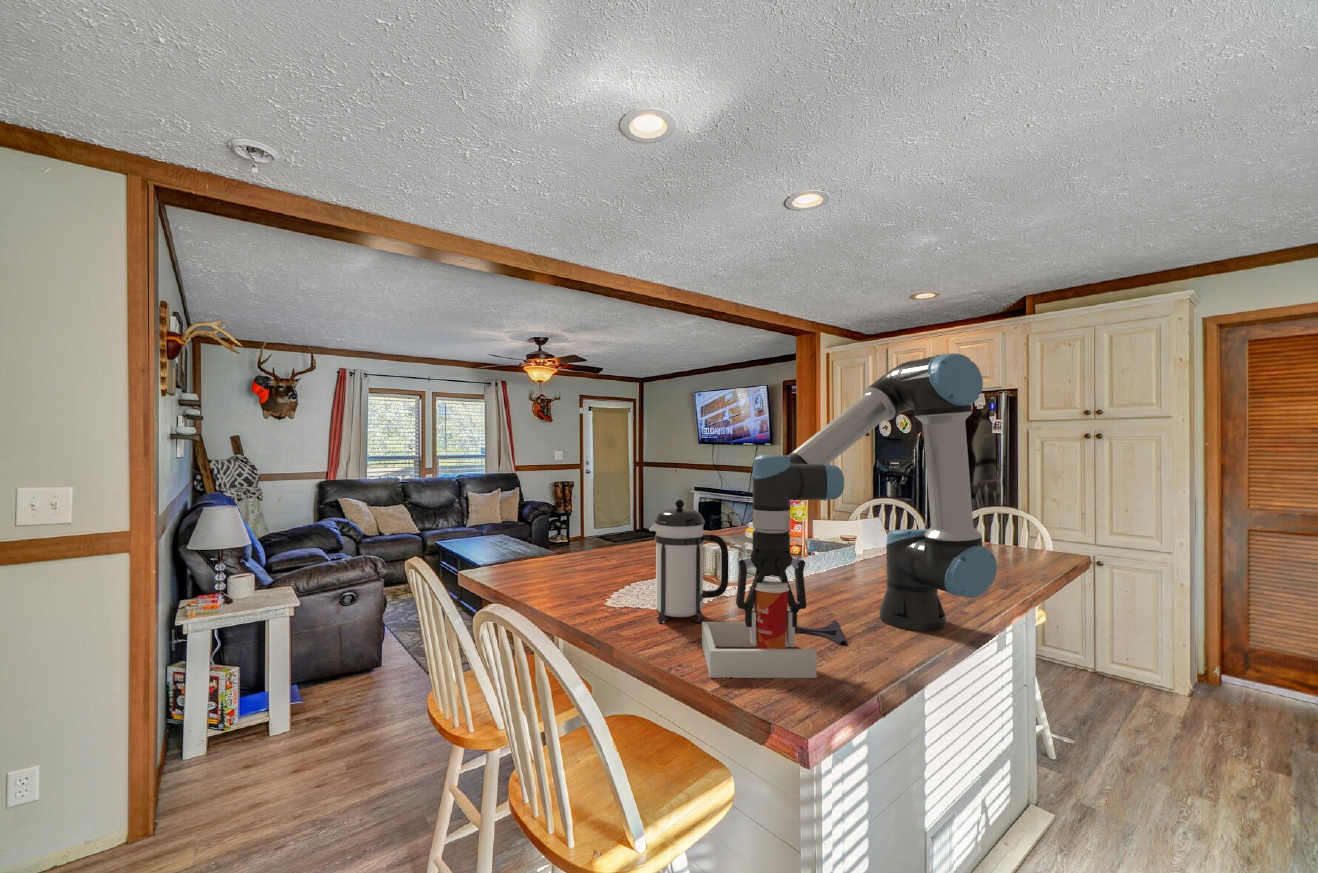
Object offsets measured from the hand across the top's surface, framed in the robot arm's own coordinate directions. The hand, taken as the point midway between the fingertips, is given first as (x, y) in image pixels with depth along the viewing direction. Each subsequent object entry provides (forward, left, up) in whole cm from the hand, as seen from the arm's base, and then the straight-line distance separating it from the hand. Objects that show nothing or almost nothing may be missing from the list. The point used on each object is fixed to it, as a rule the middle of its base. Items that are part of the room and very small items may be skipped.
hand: (770, 642), depth 114 cm
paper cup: (0, 0, -2) cm, 2 cm away
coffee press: (+16, -29, -4) cm, 33 cm away
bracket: (-13, -17, -4) cm, 22 cm away
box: (+3, 0, -4) cm, 5 cm away
